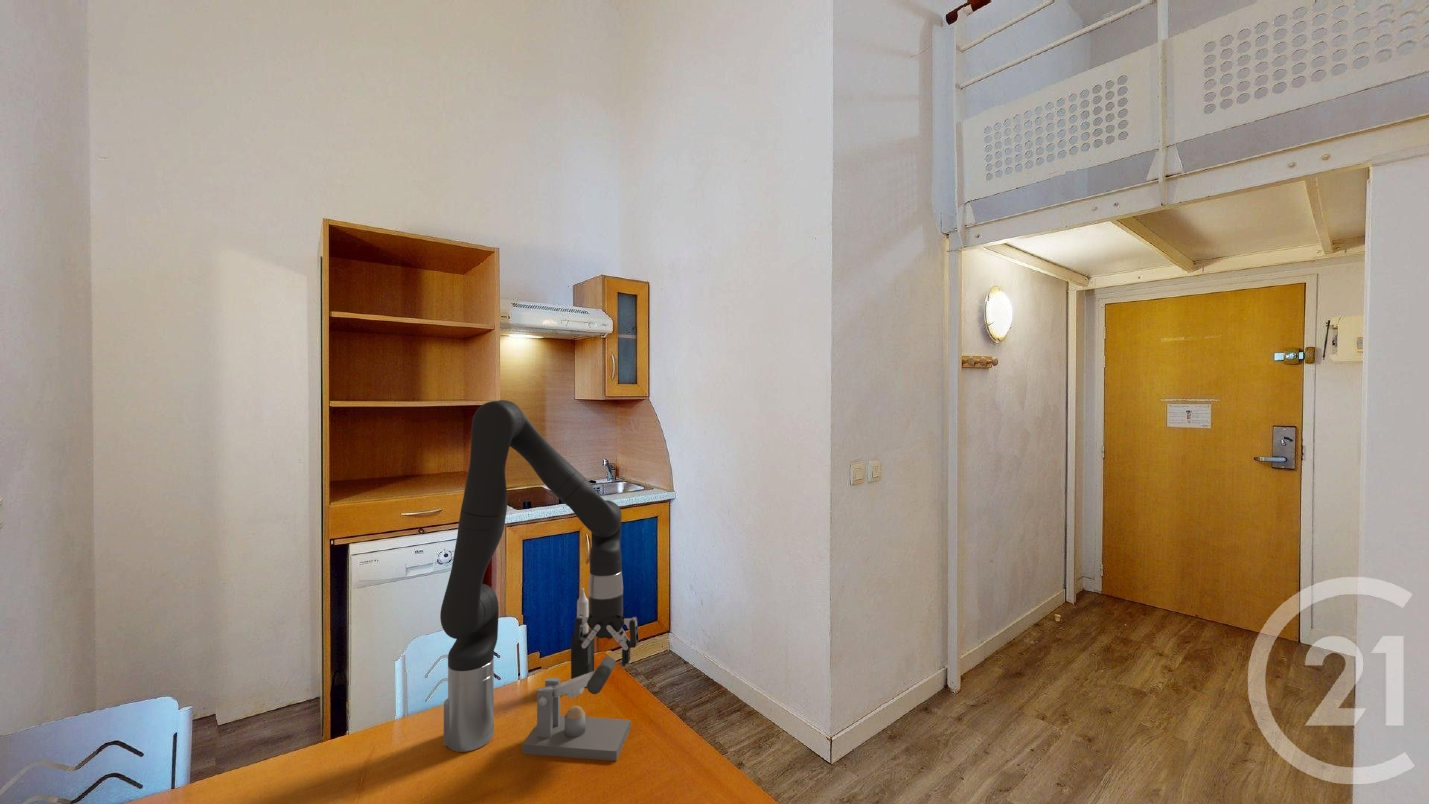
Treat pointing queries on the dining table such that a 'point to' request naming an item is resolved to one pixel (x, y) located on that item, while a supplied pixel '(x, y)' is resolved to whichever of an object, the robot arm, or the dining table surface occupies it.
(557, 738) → the base
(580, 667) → the black and grey rod
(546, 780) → the dining table surface
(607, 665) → the lever
